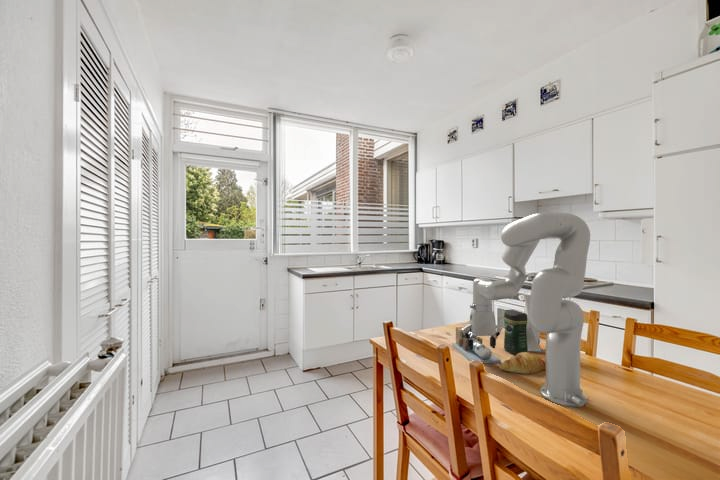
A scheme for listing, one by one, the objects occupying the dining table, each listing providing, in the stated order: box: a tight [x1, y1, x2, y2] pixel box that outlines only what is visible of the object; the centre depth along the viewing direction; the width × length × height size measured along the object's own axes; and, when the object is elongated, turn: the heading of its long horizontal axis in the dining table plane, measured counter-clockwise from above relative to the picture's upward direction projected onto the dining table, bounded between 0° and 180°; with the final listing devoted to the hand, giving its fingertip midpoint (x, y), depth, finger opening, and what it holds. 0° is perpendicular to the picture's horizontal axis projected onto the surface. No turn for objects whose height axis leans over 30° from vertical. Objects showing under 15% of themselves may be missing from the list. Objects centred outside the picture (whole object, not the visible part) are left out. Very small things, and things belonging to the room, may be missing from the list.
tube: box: [467, 338, 493, 360], centre depth 139 cm, size 14×5×5 cm, turn 6°
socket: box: [455, 326, 478, 346], centre depth 151 cm, size 4×8×8 cm, turn 96°
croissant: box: [498, 352, 546, 375], centre depth 126 cm, size 21×10×8 cm, turn 98°
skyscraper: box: [522, 291, 546, 354], centre depth 146 cm, size 8×8×28 cm
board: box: [451, 342, 502, 364], centre depth 143 cm, size 22×12×1 cm, turn 6°
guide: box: [463, 336, 483, 351], centre depth 144 cm, size 3×8×5 cm, turn 96°
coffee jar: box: [503, 309, 529, 356], centre depth 144 cm, size 10×8×19 cm
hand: (481, 347), depth 136 cm, fingers open, 9 cm apart
